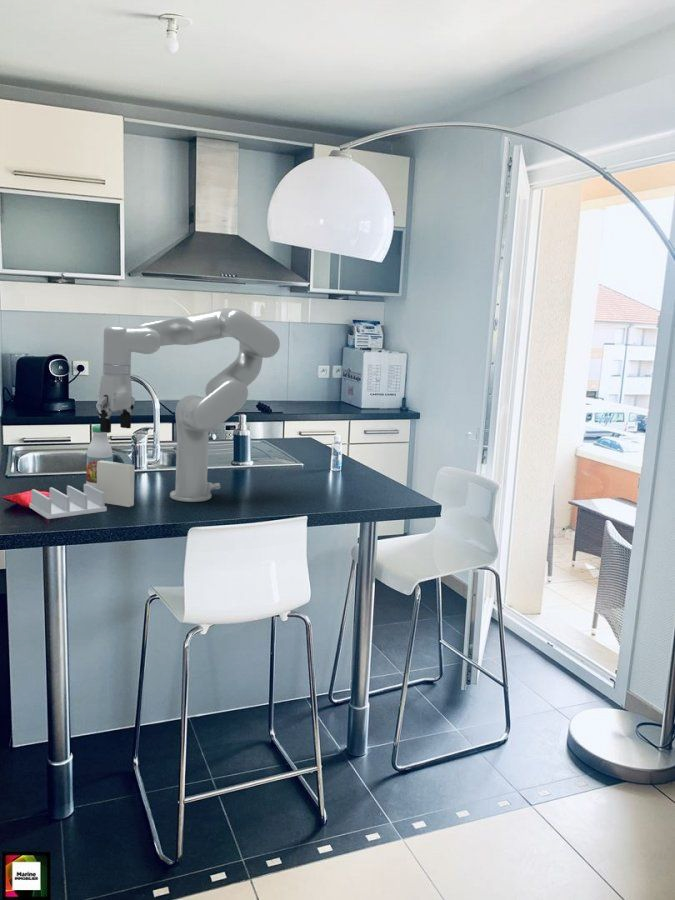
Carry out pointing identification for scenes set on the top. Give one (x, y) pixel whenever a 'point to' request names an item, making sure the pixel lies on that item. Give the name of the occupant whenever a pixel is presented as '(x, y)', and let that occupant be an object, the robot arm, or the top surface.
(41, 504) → the dish rack
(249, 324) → the robot arm
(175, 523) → the top surface
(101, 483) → the plate
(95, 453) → the milk bottle
